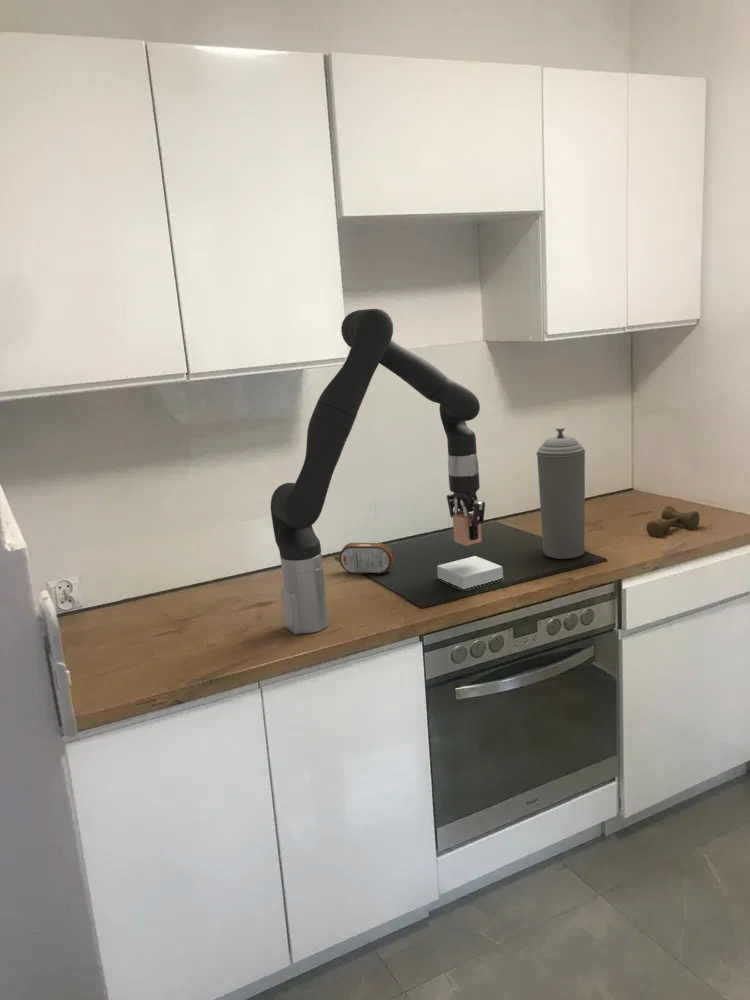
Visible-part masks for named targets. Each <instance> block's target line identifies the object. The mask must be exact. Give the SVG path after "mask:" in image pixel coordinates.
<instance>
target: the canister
mask: <svg viewBox="0 0 750 1000" xmlns="http://www.w3.org/2000/svg"><path fill="white" fill-rule="evenodd" d="M555 430H556V432H558V433H557V435H556V436H551V437H549V438H546V439H545V441H544V442H543V443H542V445H540V446H539V448H538V449H537V452H536V453H535V454H536V456H537V457H536V458H537V472H538V475H537V476H538V489H539V491H538V492H539V505H540V507H539V508H540V517H541V518H540V521H541V535H542V549H543V554H544V555H545V557H546V556H547V557H548V558H551V559H556V560H570V559H576V558H579V557H581V556H583V555H584V554H585V535H586V534H585V531H586V528H585V527H586V526H585V524H586V523H585V521H586V519H585V518H586V515H585V514H586V511H585V510H586V509H585V507H586V499H585V497H586V496H585V495H586V494H585V493H586V490H585V489H586V487H585V486H586V485H585V484H586V483H585V482H586V475H585V474H586V470H585V469H586V459H585V458H586V456H585V455H586V454H585V453H586V450H585V447H584V446H582V444H581V443H580V442H579V441H578V440H577V439H576V438H574V437H572V436H566V435H564V434H563V432H564V431H565V430H566V428H565V427H563V426H560V427H556V428H555Z"/></svg>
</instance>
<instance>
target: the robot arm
mask: <svg viewBox="0 0 750 1000" xmlns="http://www.w3.org/2000/svg"><path fill="white" fill-rule="evenodd" d="M340 329H341V330H340V331H341V336H342V339H343V340H344V341H343V342H345V343H346V344H347V346H349V347H350V350H349V352H348V355H347V357H346V359H345V361H344V363H343V365H342V366H341V368H340V369H339V370H338V371H337V373H336V374H335V375H334V377H333V378H332V379H331V381H330V382H329V383H328V384H327V386H326V387H325V388H324V390H323V391H322V392H321V394H320V396H319V397H318V400H317V402H316V404H315V407H314V409H313V412H312V415H311V416H310V419H309V423H308V426H307V434H306V446H305V447H306V448H305V455H304V456H305V457H304V461H303V465H302V466H301V467H302V468H301V470H300V472H299V474H298V477H297V479H296V481H295V482H286V483H283V484H280V485H278V487H277V488H276V489H275V490H274V492H273V493H272V496H271V498H270V514H271V515H270V516H271V521H272V522H271V523H272V528H273V535H274V540H275V543H276V545H277V546H276V547H277V548H278V551H279V557H280V558H279V559H280V567H281V575H282V582H283V583H282V585H283V587H281V589H280V591H281V598H282V600H281V601H282V609H283V610H282V611H283V617H284V625H285V627H286V629H288V630H289V631H290V632H291V633H293V634H294V636H295V635H299V634H311V633H316V632H320V631H322V630H324V629H326V628H327V627H328V626H329V612H328V603H327V595H326V584H325V576H324V567H323V558H322V556H323V555H322V547H321V541H320V540H319V538H318V536H317V535H316V533H315V530H314V529H313V525H314V524H315V523H316V522H317V521H318V519H319V518H320V516H321V513H322V510H323V507H324V504H325V502H326V498H327V494H328V491H329V488H330V484H331V482H332V481H331V480H332V478H333V474H334V471H335V469H336V467H337V466H338V462H339V459H340V457H341V456H342V455H341V454H342V452H343V450H344V447H345V444H346V443H347V440H348V438H349V435H350V433H351V431H352V428H353V426H354V424H355V421H356V419H357V416H358V413H359V410H360V407H361V406H362V403H363V401H364V398H365V396H366V393H367V391H368V388H369V386H370V383H371V381H372V379H373V376H374V374H375V372H376V370H377V368H378V366H379V365H381V366H383V367H384V368H386V369H387V370H389V371H390V372H392V373H393V374H395V375H396V376H397V377H399V378H400V379H401V380H402V381H404V382H405V383H407V384H408V385H409V386H410V387H412V388H413V389H414V390H415V391H416V392H417V393H419V394H420V395H421V396H422V397H424V398H426V399H427V400H428V401H431V402H432V403H437V404H439V415H440V420H441V423H442V426H443V430H444V433H445V435H446V440H447V455H448V458H447V470H448V472H447V473H448V485H449V487H448V488H449V491H450V492H452V493H450V494H447V495H446V501H447V506H448V510H449V515H450V518H451V519H453V515H456V514H457V515H458V514H462V513H464V515H465V517H466V518H468V523H469V538H470V540H476V539H478V524H481V525H482V524H484V520H485V509H486V508H485V507H486V502H485V501H484V500H483V501H480V500H478V496H477V491H479V490H480V487H481V486H480V472H479V469H480V468H479V459H478V452H477V438H476V434H475V432H474V431H473V430H472V429H470V428H469V427H468V425H467V423H466V422H468V421H472V420H474V419H475V418H476V417H477V416H478V415H479V414H480V413H479V412H480V409H481V408H480V407H481V406H480V401H479V399H478V397H477V396H476V395H475V394H474V393H473V392H472V391H471V390H470V389H468V388H466V387H465V386H463V385H461V384H459V383H458V382H457V381H455V380H452V379H450V378H449V377H448V376H446V375H445V374H444V373H443V372H442V371H441V370H440V369H439V368H437V367H436V366H435V365H434V364H432V363H431V362H429V361H428V360H426V359H424V358H423V357H421V356H419V355H417V354H416V353H414V352H412V351H410V350H408V349H406V348H404V347H403V346H401V345H399V344H398V343H396V341H394V340H393V339H392V337H393V335H394V324H393V320H392V318H391V316H390V315H389V313H387V312H386V311H385V310H382V309H381V308H365V309H358V310H355V311H352V312H349V313H348V314H347V315H346V316H345V317H344V318H343V321H342V323H341V328H340ZM468 512H472V513H468ZM471 516H473V521H472V518H471ZM478 516H479V519H478Z"/></svg>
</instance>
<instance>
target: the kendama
mask: <svg viewBox="0 0 750 1000" xmlns="http://www.w3.org/2000/svg"><path fill="white" fill-rule="evenodd" d="M699 523H700V514H699V512H698V511H696V510H695V511H689V512H679V511H677V510H676V509H675V508H674V507H673V506H671V505H666V506H664V508H663V510H662V513H661V518H658V519H656V520H651V521H649V522H647V524H646V532H647V534H648V535H649V536H650V537H652V538H657V539H659V538H661V537H662V535H664V534H667V533H669V532H670V531H671V528H672V526H674V525H676V524H678V525H679V524H680V525H683V526H685V527H686V528H687V529H688V530H690V531H693V530H696V529H697V527H699Z"/></svg>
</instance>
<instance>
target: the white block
mask: <svg viewBox="0 0 750 1000" xmlns="http://www.w3.org/2000/svg"><path fill="white" fill-rule="evenodd" d="M436 569H437V570H436V571H437V579H438V578H439V579H442V580H444V581H446V582H449V583H451V584H453V585H456V586H458V587H460V588H462V589H466V588H470V587H473V586H477V585H481V584H485V583H488V582H491V581H495V580H498V579H501V578H503V579H504V574H503V573H504V570H503V569H504V568H503V566H502V565H499V564H497V563H494V562H492V561H490V560H487V559H484V558H482V557H479V556H476V555H473V556H470V557H466V558H461V559H457V560H455V561H450V562H447V563H442V564H439V565H437V566H436ZM439 579H438V580H439ZM442 580H441V581H442ZM444 581H443V582H444ZM446 582H445V583H446Z"/></svg>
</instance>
